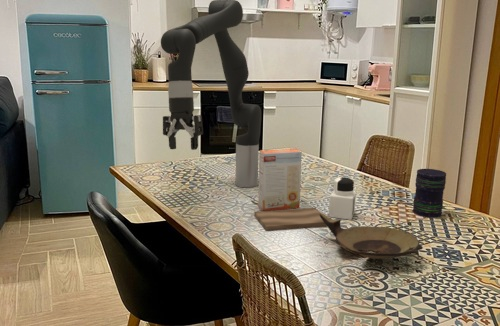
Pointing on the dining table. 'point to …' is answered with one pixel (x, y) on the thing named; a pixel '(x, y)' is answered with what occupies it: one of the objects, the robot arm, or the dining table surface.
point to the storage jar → (429, 193)
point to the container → (342, 199)
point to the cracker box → (279, 179)
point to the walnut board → (289, 219)
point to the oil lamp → (373, 240)
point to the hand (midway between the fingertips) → (183, 149)
